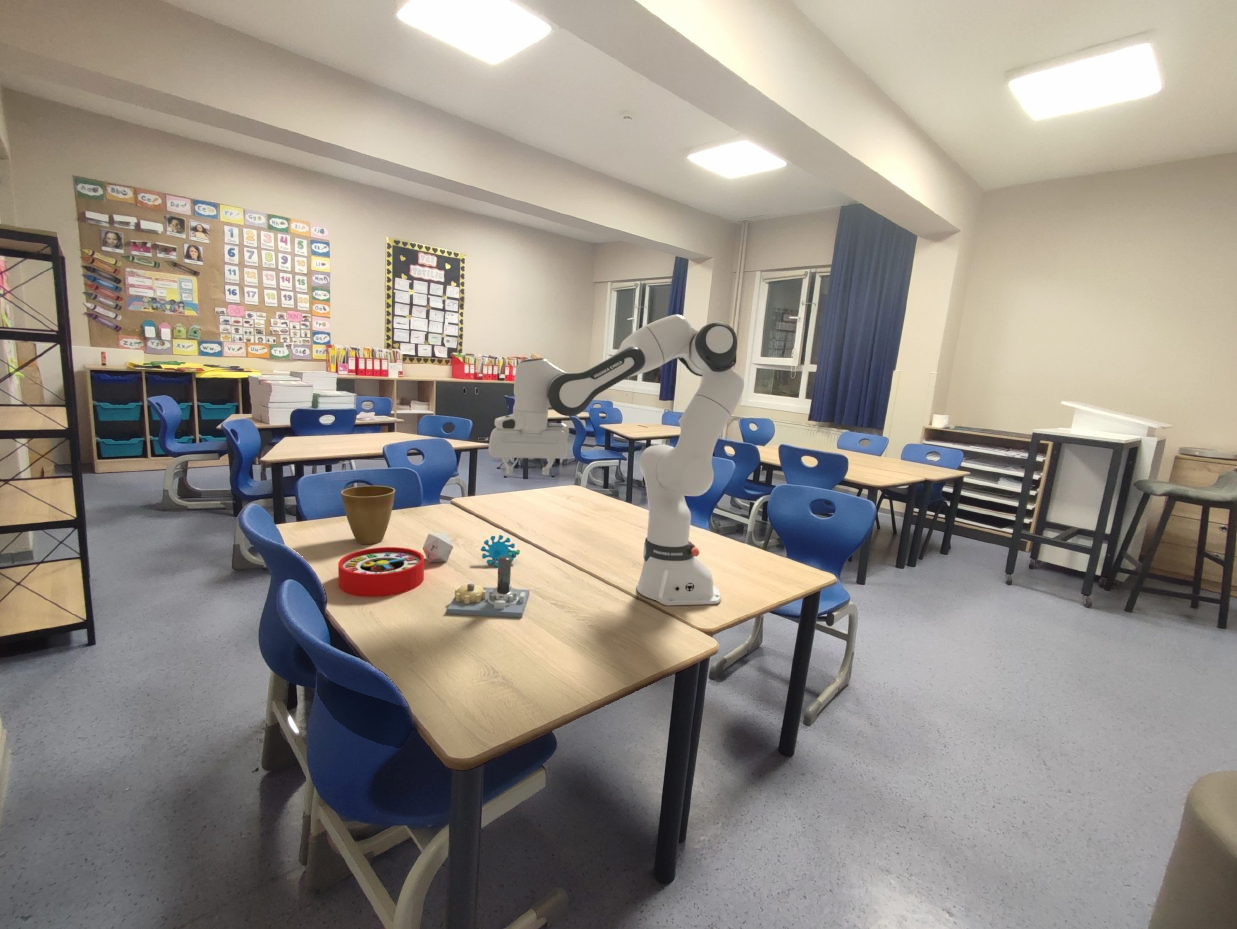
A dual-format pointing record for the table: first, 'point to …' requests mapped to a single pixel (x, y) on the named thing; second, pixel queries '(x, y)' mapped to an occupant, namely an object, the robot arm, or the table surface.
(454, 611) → the gear board
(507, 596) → the gear
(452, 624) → the table surface
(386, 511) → the plant pot
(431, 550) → the die
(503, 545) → the virus model
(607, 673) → the table surface
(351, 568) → the toy clock
